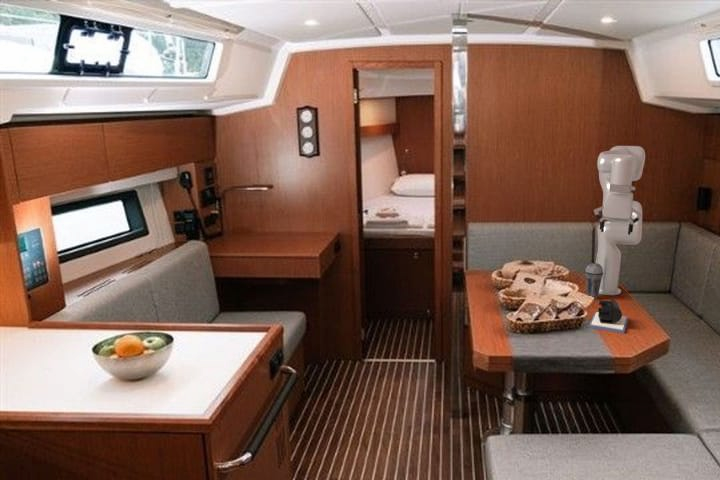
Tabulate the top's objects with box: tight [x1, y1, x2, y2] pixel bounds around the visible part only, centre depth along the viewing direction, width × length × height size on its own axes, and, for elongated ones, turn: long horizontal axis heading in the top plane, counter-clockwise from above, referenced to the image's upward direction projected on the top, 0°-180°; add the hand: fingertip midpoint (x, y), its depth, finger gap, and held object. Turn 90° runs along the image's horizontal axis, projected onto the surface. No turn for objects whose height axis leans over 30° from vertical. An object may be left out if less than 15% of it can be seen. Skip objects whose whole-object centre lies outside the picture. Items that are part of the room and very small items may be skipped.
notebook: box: [588, 311, 629, 334], centre depth 220 cm, size 16×12×1 cm
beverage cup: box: [584, 252, 603, 301], centre depth 247 cm, size 7×7×20 cm
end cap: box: [597, 299, 623, 324], centre depth 219 cm, size 10×7×7 cm
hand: (615, 232), depth 226 cm, fingers open, 9 cm apart
